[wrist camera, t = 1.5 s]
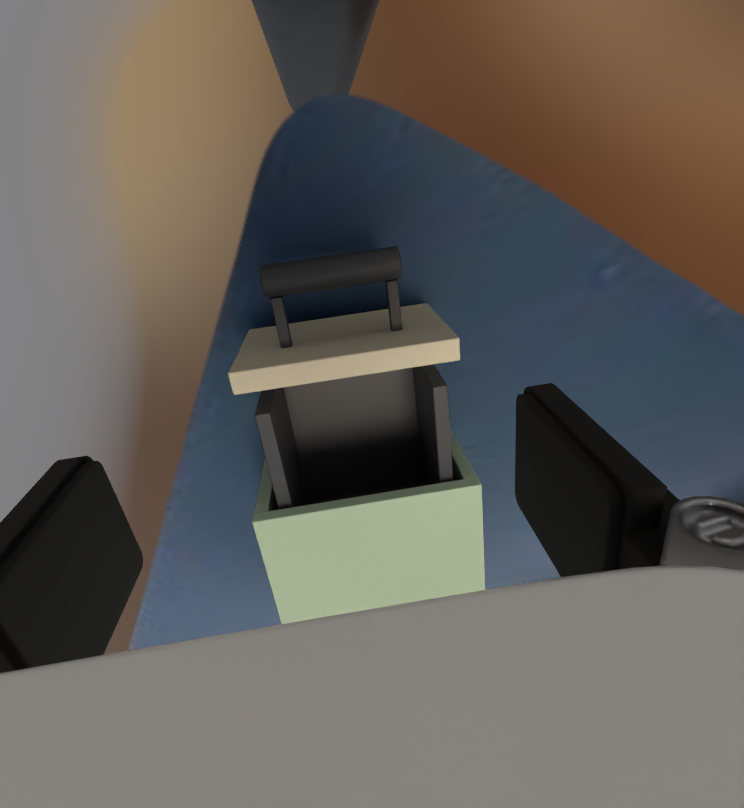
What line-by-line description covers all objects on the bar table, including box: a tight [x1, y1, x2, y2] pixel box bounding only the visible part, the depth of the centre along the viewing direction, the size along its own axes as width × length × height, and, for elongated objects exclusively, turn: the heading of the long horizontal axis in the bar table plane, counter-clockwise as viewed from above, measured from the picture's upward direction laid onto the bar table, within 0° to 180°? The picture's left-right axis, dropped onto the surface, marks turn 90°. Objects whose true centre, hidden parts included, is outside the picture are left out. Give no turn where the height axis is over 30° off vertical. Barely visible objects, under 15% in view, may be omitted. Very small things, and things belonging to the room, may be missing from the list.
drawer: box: [228, 246, 460, 510], centre depth 29 cm, size 18×11×8 cm, turn 7°
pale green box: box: [252, 428, 485, 624], centre depth 33 cm, size 15×13×10 cm
